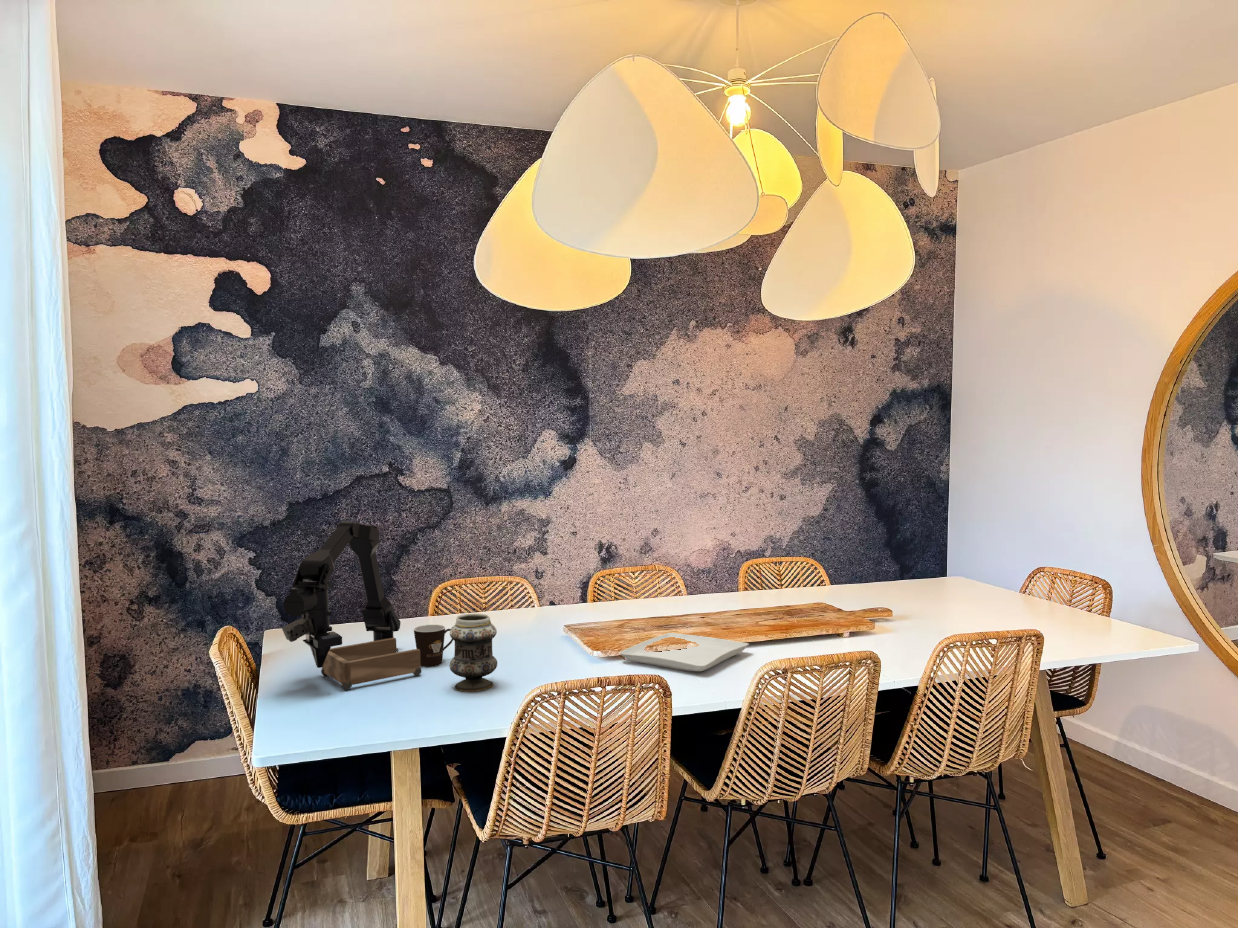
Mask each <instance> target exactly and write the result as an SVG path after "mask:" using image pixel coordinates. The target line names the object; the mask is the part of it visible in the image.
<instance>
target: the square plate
mask: <svg viewBox="0 0 1238 928" xmlns="http://www.w3.org/2000/svg"><path fill="white" fill-rule="evenodd" d="M668 637H675V638H681V639H685V640H687V641H691V642H696V643H697V644H699V645H700V646H698V647H693V648H687V649H681V650H670V651H662V652H646V651H645V650H644V649H645V647H646V646H647V645H650V644H652V643H653V642H656V641H659V640H661V639H664V638H668ZM749 645H750V643H748V642H743V641H742V642H741V641H736V640H731V639H730V640H729V639H723V638H717V637H710V636H703V635H695V634H686V633H685V634H684V633H675V632H667V633H665V634H661V635H658V636H655V637H652V638H649V639H647V640H645V641H642V642H640V643H637V644H635V645H632V646H630V647H628V648H626V649H625V648H624V650H621V651H619V652H618V653H619V655H620V656H622V657H623V658H624V659H626V660H628V661H630V662H635V663H641V664H645V665H651V666H654V667H655V666H656V667H661V668H662V667H663V668H668V669H674V670H680V671H684V672H685V671H686V672H703V671H706V670H708V669H710V668H712V667H714V666H716V665H718V664H720V663H722V662H724V661H726V660H728V659H730V658H731V657H734V656H736V655H738V654H740V653H742V652H743V651H744V650H745V649H747V647H748V646H749Z"/></svg>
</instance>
